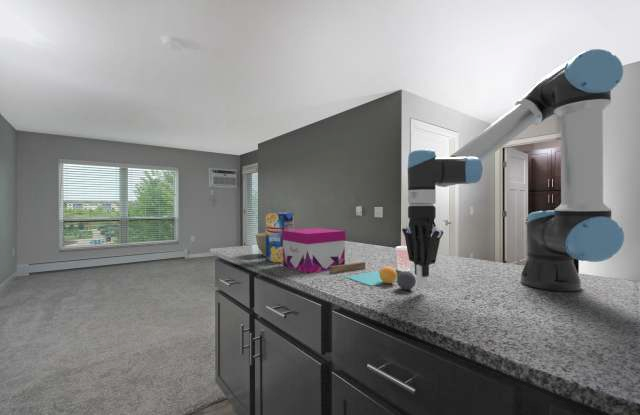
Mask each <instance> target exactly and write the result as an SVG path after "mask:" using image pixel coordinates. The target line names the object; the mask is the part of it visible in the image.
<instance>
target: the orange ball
mask: <svg viewBox="0 0 640 415" xmlns="http://www.w3.org/2000/svg"><path fill="white" fill-rule="evenodd" d="M379 273H380V278H381V280H382V281H383V282H384V283H386V284H389V285H390V284H393V283H394V281H395V280H396V278H397V277H398V273H397V271H396V269H395V268H394V267H392V266H388V265H387V266H383V267H382V268H381V269H380V270H379Z"/></svg>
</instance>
